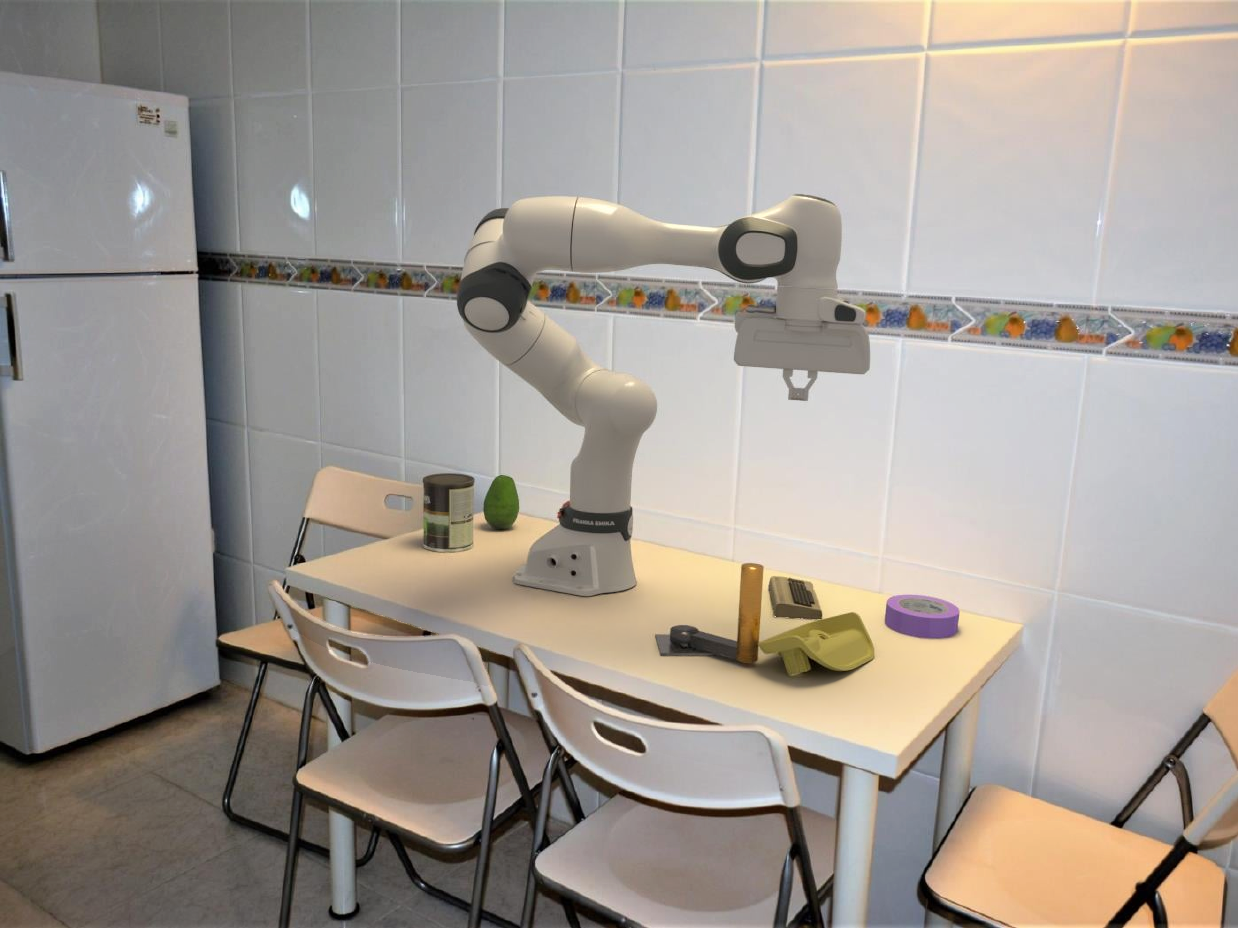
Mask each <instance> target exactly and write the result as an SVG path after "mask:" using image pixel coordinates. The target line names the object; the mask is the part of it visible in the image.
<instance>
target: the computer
mask: <svg viewBox="0 0 1238 928" xmlns="http://www.w3.org/2000/svg"><path fill="white" fill-rule="evenodd" d="M767 586H768V587H767V588H768V592H769V591H770V592H769V596H770V597H769V598H770V602H771V606H772V611H773V610H774V611H773V617H774V616H776V617H775V618H777V617H789V618H788V619H794V618H800V619H799V620H812V619H823V610H822V609H821V606H820V603H819V602H820V601H819V599H818V596H817V594H816V591H815V589H814V585H813V583H812V582H811V581H807V580H803V579H798V578H797V579H796V578H792V577H786V576H779V575H777V576H776V575H772V576H771V577H770V579H769V582H768V585H767ZM801 618H803V619H801Z"/></svg>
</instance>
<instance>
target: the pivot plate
mask: <svg viewBox="0 0 1238 928" xmlns="http://www.w3.org/2000/svg"><path fill="white" fill-rule="evenodd" d="M654 637H655V640H656V644H657V647H658V650H659V654H660V656H661V657H663V656H664V657H668V656H669V657H679V656H680V657H681V656H682V657H689V656H690V657H714V656H715V653H712V652H709V651H705V650H702V649H698V648H695V647H691V646H678V645H674V644H672V643H671V642H670V633H668V634H667V633H665V634H663V633H660V634H658V633H657V634H656V633H655V635H654Z"/></svg>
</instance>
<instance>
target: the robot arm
mask: <svg viewBox="0 0 1238 928" xmlns="http://www.w3.org/2000/svg"><path fill="white" fill-rule="evenodd" d="M842 226H843V223H842V216H841V211H840V209H839V207H838V206H837V205H836V204H835V203H834V202H833V201H831V200H828V199H826V198H822V197H819V196H816V195H811V194H810V195H809V194H800V193H794V194H792V195H790V196H788V198H786V199H785V200H783V201H782V202H780V203H778V204H775V205H774V206H771V207H770V208H767V209H764V210H762V211H759V212H756V213H753V214H749V215H745V216H742V217H739V218H737V219H734V220H733V221H732V222H730V223H729V224H726V225H722V226H701V225H700V226H699V225H690V224H689V225H687V224H680V223H679V224H677V223H669V222H668V223H667V222H662V221H658V220H654V219H652V218H649V217H647V216H645V215H642V214H640V213H638V212H637V211H635V210H632V209H631V208H629V207H627V206H624V205H621V204H619V203H614V202H611V201H608V200H607V201H606V200H603V199H598V198H592V197H583V196H571V195H570V196H568V195H567V196H566V195H561V196H560V195H553V196H552V195H551V196H547V195H546V196H534V197H528V198H527V197H526V198H521V199H518V200H517V201H514V202H513V203H512V204H511V205H510V206H509V207H501V208H496V209H493V210H491V211H490V212H488V213H487V214H485V216H483V218H482V219H481V220H480V221H479V223H478V224H477V226H476V227H475V229H474V232H473V237H472V239H471V241H470V243H469V245H468V248H467V251H466V253H465V256H464V260H463V267H462V271H461V277H460V281H459V283H458V286H457V290H456V307H457V311H458V314H459V315H460V317H461V318H462V321H463V325H464V327H465V329H466V331H467V332H469V334H470V335H471V336H472V337H473V338H474V340H475V341H477V344H479V345H480V346H481V347H482V348H483V349H485V350H486V352H488V354H490V355H491V356H492V357H494V359H496V360H497V361H498V362H500V363H501V364H502V365H503V366H505V367H506V368H507V369H509V370H510V371H511V372H513V373H514V374H516V375H517V376H518V377H520V378H521V379H522V380H523V381H525V382H526V383H527V384H528V385H530V386H531V387H533V389H535V390H536V391H537V392H539V394H540V395H542V397H543V398H544V399H545V400H546V401H547V402H549V404H551V405H552V406H553V407H554V408H555V409H556V410H557V411H558V412H559V413H560V414H561V415H562V416H563V417H564V418H566V420H569V421H570V422H571V423H573V424H574V425H576V426H580V427H583V428H584V434H583V435H584V436H583V439H582V443H581V446H580V449H579V452H578V454H577V455H576V456H575V458H574V459H573V460H572V461H571V464H570V473H569V474H570V475H569V477H570V478H569V480H570V482H569V500H567V501H566V502H564V503H562V506H561V508H559V510H558V512H557V513H556V514H557V516H556V517H557V519H558V522H559V524H557V525H556V526H555V527H553V528H551V529H550V530H549V531H547V532H546V533H545V534H543V535H542V536H540V537H539V538H538V539H536V540H535V542H533V543H532V544H531V547H530V548H529V551H528V554H527V558H526V562H525V564H522V565H521V566H519V567H518V568H517V569H516V570H515V571H514V573H513V582H514V583H515V584H516V585H520V586H526V587H531V588H537V589H542V590H548V591H554V592H557V593H558V592H559V593H564V594H565V593H566V594H570V595H576V596H581V597H591V596H592V597H593V596H596V595H598V594H606V593H614V592H616V593H617V592H621V591H626V590H629V589H631V588H633V587H634V586H635V585H637V583H638V581H637V578H636V573H635V570H634V562H633V555H632V545H631V538H632V536H633V529H634V528H633V527H634V515H633V513H634V511H633V506H632V505H631V501H632V500H631V499H632V497H631V496H632V484H633V482H632V480H633V479H632V478H633V468H634V462H635V457H636V453H637V451H638V447H639V445H640V441H641V439H642V436H643V434H644V433H645V432H646V431H648V429H649V428H651V426H652V425H653V423H654V421H655V420H656V416H657V414H658V413H657V412H658V401H657V397H656V394H655V392H654V391H653V389H652V388H651V387H650V386H649V385H648V384H646V383H645V382H643V381H642V380H640V379H639V378H637V377H636V376H634V375H632V374H628V373H625V372H624V373H623V372H619V371H614V370H610V369H607V368H605V367H603V366H601V365H599V364H597V362H594V361H593V360H592V359H591V358H590V357H589V356H588V355H587V353H585V351H584V350H583V349H582V348H581V347H580V345H579V342H578V340H577V338H575V337H574V336H573V335H572V334H571V333H569V332H568V331H567V330H566V329H564V327H563V326H561V325H560V324H558V323H557V322H556V321H554V320H553V319H552V318H551V317H549V316H548V315H547V314H546V313H545V312H543V311H542V310H541V309H539V308H538V307H537V306H535V305H534V304H533V303H532V302H530V301H529V297H530V295H531V292H532V288H533V287H532V285H533V282H534V278H535V276H536V275H537V274H539V273H540V272H543V271H550V270H551V271H560V272H570V273H571V272H572V273H581V274H582V273H583V274H587V273H588V274H596V273H597V274H598V273H599V274H600V273H611V272H619V271H623V270H628V269H629V270H630V269H632V268H633V269H634V268H636V267H641V266H642V267H643V266H648V265H674V266H684V267H695V268H696V267H697V268H705V269H710V270H711V269H712V270H714V271H717V272H719V273H721V274H722V275H724V276H726V277H728V278H729V279H731V280H733V281H735V282H737V283H741V284H749V285H750V284H757V283H761V282H762V281H765V280H766V279H769V278H771V279H772V278H773V279H775V280H776V281H777V289H776V300H775V301H776V302H775V305H755V304H754V305H753V304H747V305H745V306H744V307H741V308H740V309H737V312H736V314H735V317H734V330H735V332H736V333H737V335H736V340H735V346H734V351H733V361H734V363H735V364H736V365H737V366H738V367H739V366H740V367H748V368H749V367H751V368H764V369H765V368H766V369H779V370H782V378H783V380H784V382H785V385H786V386H787V389H788V395H787V396H788V397H787V399H788V400H787V401H803V402H808V401H809V393H810V391H809V390H810V389H811V387H812V386H813V385H814V383H815V382H816V381H817V379H818V374H819V373H818V372H821V373H835V374H849V375H865V374H866V373H867V372H868V371H870V368H871V367H870V366H871V343H870V334H869V332H868V329H867V328H866V327H865V326H864V325H863V323H864V322H865V321H866V317H867V315H866V314H867V312H866V310H865V308H862V307H860V306H857V305H855V304H853V303H850V301H847V300H841V299H838V290H839V289H838V281H837V271H838V266H839V264H840V261H841V255H842V242H843V241H842V238H843V237H842V235H843V233H842V232H843V229H842V228H843V227H842ZM795 370H796V371H807V379H810V380H809V381H808V382H807V384H806V385H805V387H795V386H794V384H793V382H792V380H791V378H792V377H793V375H794V371H795Z"/></svg>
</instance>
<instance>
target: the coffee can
mask: <svg viewBox="0 0 1238 928" xmlns="http://www.w3.org/2000/svg"><path fill="white" fill-rule="evenodd" d="M475 482H476V481H475V478H474V477H473V476H471V475H468V474H463V473H455V472H454V473H452V472H451V473H450V472H447V473H435V474H429V475H426V476H424V477H423V478H422V483H423V486H422V487H423V495H422V496H423V507H422V508H423V536H422V538H423V544H422V546H423V549H425V550H428V551H431V552H435V551H436V552H437V553H445V552H450V553H459V552H458V551H460V552H465V551H469V550H471V549H472V548H473V547H474V545H475V544H474V505H475V504H474V503H475V500H474V499H475V497H474V494H475V493H474V491H475Z"/></svg>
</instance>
